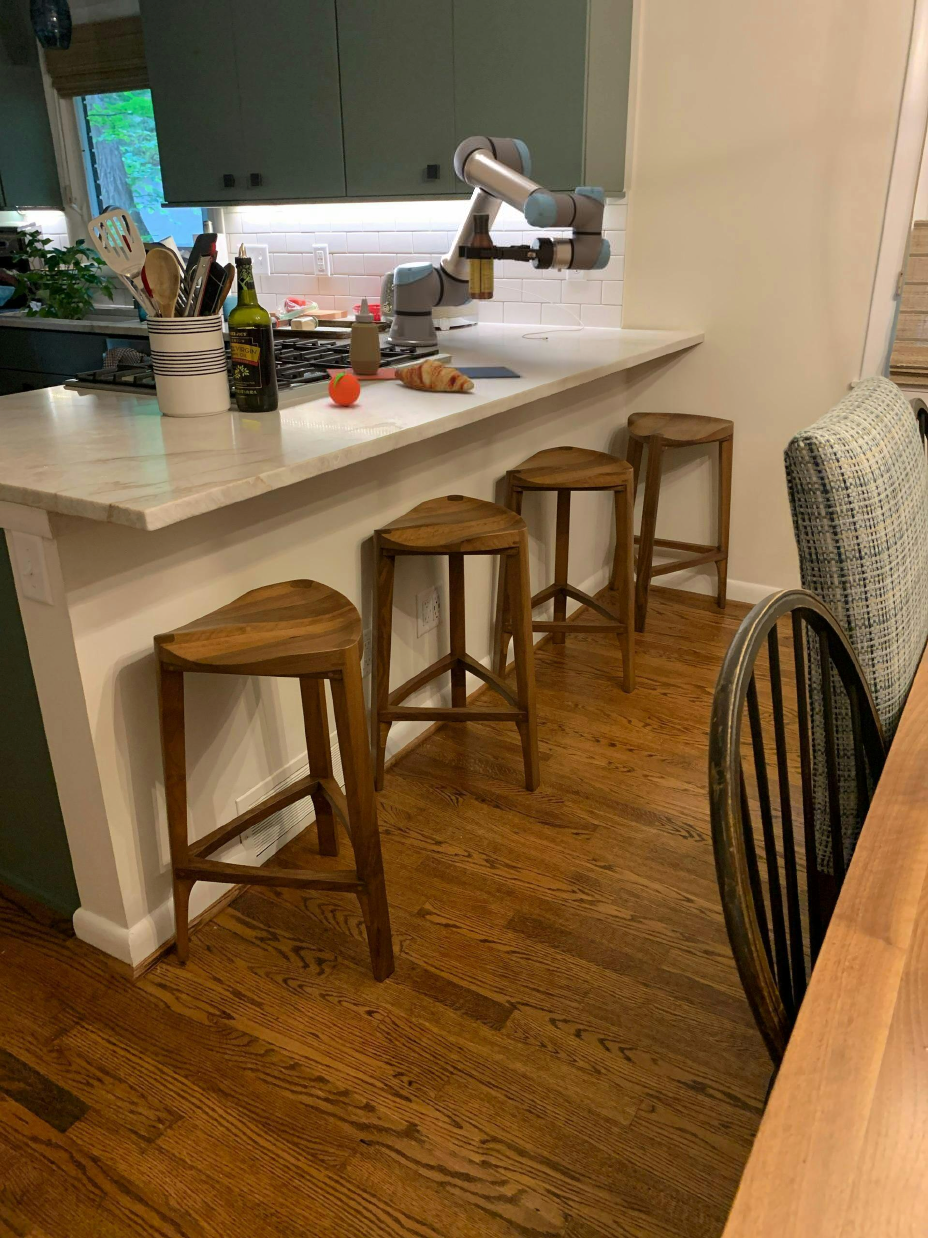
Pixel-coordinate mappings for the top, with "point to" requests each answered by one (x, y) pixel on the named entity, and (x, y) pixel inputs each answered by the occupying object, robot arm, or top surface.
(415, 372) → the croissant
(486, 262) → the sauce bottle
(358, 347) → the squeeze bottle
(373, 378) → the terracotta mat
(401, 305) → the robot arm
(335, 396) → the clementine
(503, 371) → the slate mat
